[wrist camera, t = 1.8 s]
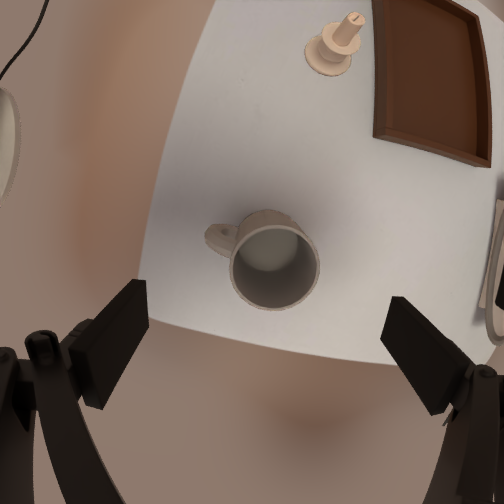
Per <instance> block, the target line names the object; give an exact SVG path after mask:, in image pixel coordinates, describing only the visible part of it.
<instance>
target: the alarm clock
mask: <svg viewBox="0 0 504 504" xmlns="http://www.w3.org/2000/svg"><path fill="white" fill-rule="evenodd" d="M478 306H479V307H481V308H485V320H486V329H487V334H488V337H489V339H490V341H491V342H492V344H494V345H497V346H502V345H504V200H499V199H497V203H496V214H495V223H494V231H493V238H492V245H491V251H490V256H489V262H488V267H487V272H486V276H485V281H484V285H483V289H482V293H481V297H480V301H479V305H478Z"/></svg>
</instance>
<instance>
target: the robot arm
mask: <svg viewBox="0 0 504 504" xmlns="http://www.w3.org/2000/svg"><path fill="white" fill-rule="evenodd" d="M48 2H49V0H45V2H44V5H43V8H42V11H41V13H40V16H39V19H38V21H37V23H36V25H35V27H34V29H33V31H32V32H31V34H30V35H29V37H28V39H27V40H26V41H25V43H24V44H23V45H22V47H21V48H20V49H19V51H18V52H17V53H16V54H15V55H14V56H13V58H12V59H11V60H10V61H9V62H8V64H7V65H6V66H5V68H4V69H3V71H2V72H1V74H0V80H1V78H2V77H3V75H4V74H5V72H6V71H7V69H8V68H9V67H10V65H11V64H12V63H13V62H14V60H15V59H16V58H17V57H18V56H19V55H20V53H21V52H22V51H23V50H24V49H25V47H26V46H27V45H28V43H29V42H30V41H31V39H32V37H33V36H34V34H35V33H36V31H37V29H38V27H39V25H40V23H41V21H42V19H43V16H44V13H45V11H46V8H47V5H48ZM148 321H149V320H148V307H147V291H146V280H138V279H132V280H131V281H130V282H129V283H128V284H127V285H126V286H125V287H124V288H123V289H122V290H121V291H120V292H119V293H118V294H117V295H116V296H115V297H114V298H113V300H111V301H110V302H109V304H108V305H107V306H106V307H105V308H104V309H103V310H102V311H101V312H100V313H99V314H98V315H97V316H96V318H94V320H93V319H86V320H84V321H82V322H80V323H79V324H78V325H77V326H76V327H75V328H74V329H73V331H71V332H70V333H69V334H68V335H67V336H66V337H65V338H64V339H63V340H62V341H61V343H59V342H58V338H57V336H56V334H55V333H54V332H52V331H48V330H39V331H36V332H33V333H31V334H30V335H28V336H27V337H26V339H25V346H26V349H27V352H28V355H29V358H30V360H26V359H18V358H17V355H16V353H15V351H14V350H13V349H12V348H10V347H0V504H34V491H33V443H34V442H33V441H34V428H35V416H36V411H38V412H39V417H40V421H41V426H42V430H43V434H44V439H45V442H46V446H47V450H48V453H49V456H50V460H51V463H52V466H53V469H54V472H55V475H56V478H57V481H58V484H59V486H60V489H61V492H62V494H63V497H64V499H65V502H66V504H126V503H125V501H124V500H123V498H122V496H121V495H120V493H119V491H118V489H117V488H116V486H115V484H114V482H113V480H112V478H111V476H110V475H109V473H108V471H107V469H106V467H105V465H104V463H103V461H102V459H101V457H100V455H99V452H98V450H97V448H96V446H95V444H94V442H93V439H92V437H91V434H90V432H89V430H88V428H87V425H86V422H85V420H84V417H83V415H82V412H81V409H80V407H79V404H78V400H79V398H80V397H81V395H82V397H83V399H84V402H85V405H86V406H90V407H94V408H97V409H100V410H103V408H104V406H105V404H106V403H107V401H108V399H109V397H110V395H111V393H112V391H113V389H114V387H115V386H116V384H117V382H118V380H119V378H120V377H121V375H122V373H123V371H124V370H125V368H126V366H127V364H128V363H129V361H130V359H131V357H132V355H133V354H134V352H135V350H136V348H137V346H138V345H139V343H140V341H141V340H142V338H143V336H144V334H145V333H146V331H147V330H148V328H149V322H148ZM380 340H381V341H382V343H383V344H384V346H385V347H386V348H387V350H388V351H389V353H390V354H391V356H392V357H393V359H394V360H395V362H396V363H397V364H398V366H399V367H400V369H401V370H402V372H403V373H404V375H405V376H406V378H407V379H408V381H409V382H410V384H411V385H412V387H413V388H414V390H415V392H416V393H417V395H418V396H419V397H420V399H421V401H422V402H423V404H424V405H425V407H426V408H427V410H428V412H429V413H430V415H431V416H433V415H437V414H441V413H444V411H445V410H446V408H447V406H448V405H449V403H451V404H452V406H453V409H452V411H451V412H450V414H449V415H448V417H447V419H446V420H445V422H444V423H443V426H445V424H446V423H448V424H447V428H446V433H445V437H444V441H443V444H442V448H441V452H440V456H439V459H438V462H437V465H436V468H435V471H434V474H433V478H432V480H431V483H430V486H429V488H428V491H427V494H426V497H425V499H424V501H423V504H504V375H497V372H496V371H495V370H494V369H493V368H491V367H489V366H487V365H483V364H479V365H477V366H476V365H475V364H474V363H473V362H472V361H471V360H470V358H469V357H468V356H467V355H466V354H465V353H464V352H462V350H461V349H460V348H458V346H457V345H456V344H455V343H454V342H453V341H451V340H450V339H448V338H446V337H445V336H444V335H443V334H442V333H441V332H440V331H439V330H438V329H437V328H436V327H435V326H434V325H433V324H432V323H431V322H430V321H429V320H428V319H427V318H426V317H425V316H424V315H423V314H421V313H420V312H419V311H418V310H417V309H416V308H415V307H414V306H413V305H412V304H411V303H410V302H409V301H408V300H406V299H405V298H404V297H398V296H392V299H391V303H390V306H389V310H388V314H387V317H386V321H385V324H384V328H383V331H382V334H381V338H380ZM493 493H494V501H495V502H493Z"/></svg>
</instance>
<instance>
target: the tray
mask: <svg viewBox="0 0 504 504" xmlns="http://www.w3.org/2000/svg"><path fill="white" fill-rule="evenodd" d="M372 9H373V23H374V43H375V106H374V128H373V138H378V139H382V140H386V141H391V142H395V143H399V144H403V145H407V146H410V147H414V148H418V149H421V150H425V151H428V152H432V153H435V154H439V155H442V156H445V157H448V158H451V159H454V160H457V161H460V162H463V163H466V164H469V165H472V166H475V167H483V168H491V157H492V106H491V91H490V80H489V71H488V64H487V57H486V51H485V45H484V40H483V35H482V30H481V25H480V21H479V17H478V16H477V15H476V14H474V13H473V12H471V11H469V10H468V9H466V8H464V7H463V6H461V5H459V4H457V3H456V2H454V1H452V0H372Z"/></svg>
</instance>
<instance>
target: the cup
mask: <svg viewBox="0 0 504 504" xmlns="http://www.w3.org/2000/svg"><path fill="white" fill-rule="evenodd" d="M205 242H206V244H207V245H208V247H210V248H211V249H212V250H214V251H215V252H217V253H218V254H220V255H223V256H225V257H228V258H230V265H229V270H230V279H231V282H232V285H233V287H234V289H235V291H236V292H237V293H238V295H239V296H240V297H241V298H242V299H243V300H244V301H245V302H247V303H248V304H249V305H252V306H254V307H256V308H258V309H262V310H267V311H280V310H285V309H288V308H291V307H293V306H295V305H297V304H299V303H300V302H302V301H303V300H304V299H305V298H306V297H307V296H308V295H309V294H310V293H311V292H312V290H313V288H314V287H315V285H316V283H317V280H318V277H319V273H320V261H319V257H318V253H317V250H316V249H315V247H314V245H313V243H312V242H311V240H310V239H309V238H308V237H307V236H306V234H305V233H304V232H303V231H302V230H301V229H300V228H299V226H298V225H297V224H296V223H295V222H294V221H293V220H292V219H291V218H290V217H288V216H287V215H285V214H283V213H281V212H278V211H273V210H263V211H259V212H256V213H253V214H252V215H250V216H249V217H247V218H246V219H245V220H244V221H243V222H242V223H241V224H240V226H239V228H237V227H234V226H231V225H227V224H213V225H211V226H210V227H209V228H208V229H207V230H206V231H205Z"/></svg>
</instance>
